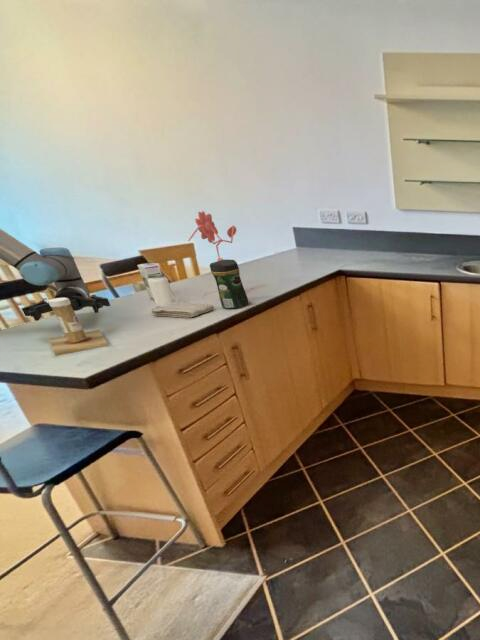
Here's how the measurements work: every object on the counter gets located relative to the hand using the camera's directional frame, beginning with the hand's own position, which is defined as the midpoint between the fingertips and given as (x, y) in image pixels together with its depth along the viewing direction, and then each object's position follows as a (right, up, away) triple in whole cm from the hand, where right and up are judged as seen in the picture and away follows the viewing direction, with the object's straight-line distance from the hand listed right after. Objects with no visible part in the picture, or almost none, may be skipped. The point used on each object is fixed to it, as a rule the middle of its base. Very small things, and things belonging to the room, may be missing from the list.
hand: (65, 312), depth 130 cm
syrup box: (-13, +15, +50) cm, 54 cm away
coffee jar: (+26, +9, +41) cm, 50 cm away
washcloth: (+12, +5, +32) cm, 34 cm away
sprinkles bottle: (+2, -9, +2) cm, 9 cm away
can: (-2, +10, +40) cm, 42 cm away
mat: (+2, -9, +2) cm, 10 cm away
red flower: (+11, +18, +57) cm, 60 cm away
